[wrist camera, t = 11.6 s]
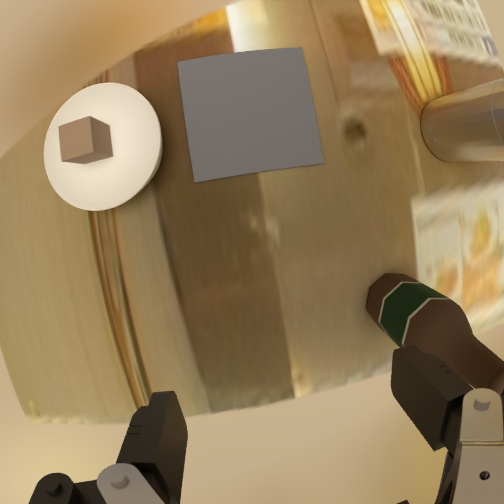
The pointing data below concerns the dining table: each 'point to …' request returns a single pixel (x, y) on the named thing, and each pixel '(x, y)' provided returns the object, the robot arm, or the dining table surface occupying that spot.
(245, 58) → the mat
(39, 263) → the dining table surface
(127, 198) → the lid
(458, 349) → the beer bottle
